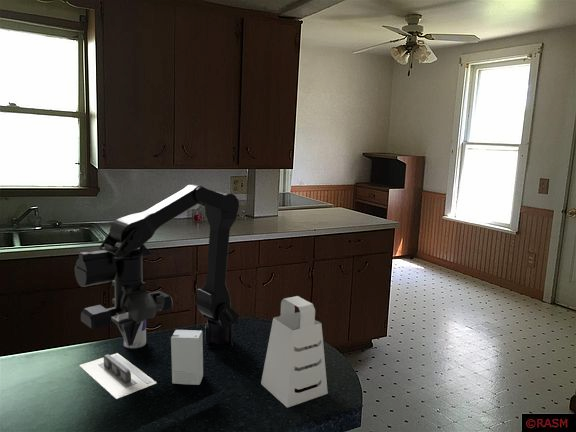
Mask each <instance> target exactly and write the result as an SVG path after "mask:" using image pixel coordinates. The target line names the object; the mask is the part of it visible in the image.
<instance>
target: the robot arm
mask: <svg viewBox="0 0 576 432" xmlns="http://www.w3.org/2000/svg"><path fill="white" fill-rule="evenodd" d="M196 205H201V206H203V207H204V212H205V216H206V220H207V222H208V225H209V237H208V250H207V251H208V252H207V262H206V263H207V264H206V276H205V277H206V278H205V283H204V284H203V286H202V288H197V289H196V299H195V303H194V304H195V305H196V306H197V310H198V311H199V312H200V313H201V316H202V318H203V319H206V320H207V323H206V324H205V325H204V343H205V344H206V348H207V349H220V348H221V349H224V348H233V345H234V344H233V326H234V325H235V324H237V323H238V321H239V317H240V315H239V313H237V312H236V311H235V310H234V309H233V308H232V306H231V305H232V304H231V295H230V293H229V289H228V288H227V285H226V284H227V282H226V279H227V269H228V257H229V255H228V254H229V242H230V233H231V228H232V226H233V225H234V223H235V221H236V220H237V218H238V212H239V208H240V200H239V199H238V198H237V196H236V195H235V194H233V193H229V192H223V191H218V190H212V189H209V188H206V187H205V186H202V185H198V184H195V183H194V184H192V183H190V184H188V185H186V186H185V187H184V188H182V189H181V190H179V191H178V192H176V193H174V194H172V195H171V196H169V197H167V198H165V199H164V200H161V201H160V202H158V203H156V204H155V205H153V206H151V207H150V208H148V209H145V210H143V211H141V212H135V213H132V214H127V215H126V216H122V217H119V218H117V219H115V220H114V221H113V222H112V223H111V224H110V228H109V231H108V232H109V233H107V235H106V237H105V238H104V240H103V242H101V244H100V246H99V247H98V250H95V251H94V250H93V251H82V252H79V253H78V259H77V260H76V262H75V266H74V276H75V279H76V282H77V284H78V286H80V287H81V288H84V287H85V288H86V287H89V286H93V285H100V284H105V283H109V282H111V286H113V287H114V298H112V299H111V302H112V304H113V305H114V306H113V307H109V308H105V307H104V306H103V305H102V304H97V305H93V306H92V305H91V306H88V307H84V308H83V309H82V311H81V312H80V322H82V323H83V324H85V325H86V326H87V327H89V328H90V329H92V330H93V329H95V330H96V329H100V328H103V327H108V326H109V325H110V323H111V322H113V323H114V324H116V326H117V328H118V329H119V332H120V334H121V336H122V338H123V341H124V340H125V342H126V344H127V345H128V346H132V345H133V342H134V339H135V337H136V334H137V331H138V329H139V326H140V324H141V323H142V321H144V320H146V321H147V320H149V319H151V320H152V319H154V318H156V316H157V315H156V313H157V311H160V312H164V311H168V310H171V309H173V308H174V307H173V305H174V302H173V301H174V300H173V298H172V297H171V296H170V295H169V294H167V293H164V292H163V291H161V290H157V291H152V292H149V293H148V290H147V285H146V282H144V281H143V279H144V278H143V257H148V256H152V255H153V252H152V251H151V250H150V249H148V248H147V247H146V245H145V244H146V243H148V241H149V240H151V239H152V238H153V236H154V234H155V233H156V232H157V230H158V229H160V227H162V226H164V225H166V224H167V223H169V222H170V221H172V220H173V219H175V218H177V217H178V216H180V215H182V214H183V213H184V212H186V211H188V210H190V209H191V208H193V207H195V206H196ZM117 245H119V247H118V246H117Z"/></svg>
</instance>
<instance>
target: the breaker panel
mask: <svg viewBox="0 0 576 432" xmlns="http://www.w3.org/2000/svg"><path fill="white" fill-rule="evenodd" d="M109 355H110V356H111V357H113V358H114V359H115V360H116V361H118V362H119V363H120V364H122V365H123V366H124V367H125V368H127V369H128V370H129V371H130V373H131V382H129V383H126V384H125V383H124V382H123V381H122V380H121V375H119V376H116V375H115V374H113V373H112V368H111V369H107V368H106V367H105V366H104V357H100V358H98V359H97V358H96V359H95V360H91V361H88V362H85V363H81V364H78V365H79V367H80V368H81V369H83V370H84V371H85V373H87V374H88V375H89V377H91V378H93V379H94V381H96V383H98V384H99V385H100V387H103V389H104V390H105V391H107V392H108V393H109V394H110V395H111V396H112V397H113V398H114V399H116V400H118V399H120V398H123V397H125V396H129V395H130V394H133V393H135V392H138V391H141V390H143V389H146V388H149V387H150V386H153V385H156V384H158V383H157V381H156V380H154V379H153V378H152V377H150V376H148V375H147V374H146V373H145V372H144V371H143V370H141V369H140V368H138V367H137V366H136V365H134V364H132V363H131V362H130V361H129V360H128V359H126V358H125V357H124V356H122V355H121V354H119V353H118V352H116V353H113V354H109Z"/></svg>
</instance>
